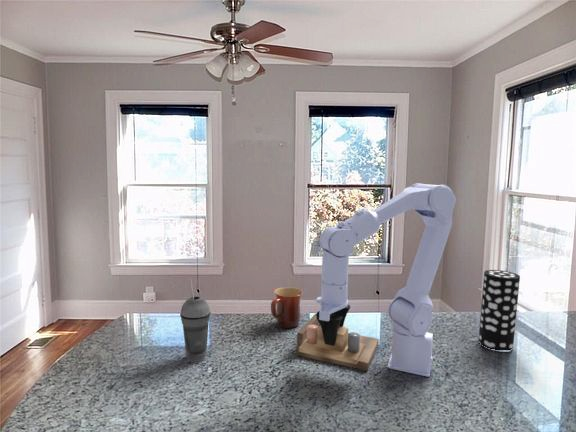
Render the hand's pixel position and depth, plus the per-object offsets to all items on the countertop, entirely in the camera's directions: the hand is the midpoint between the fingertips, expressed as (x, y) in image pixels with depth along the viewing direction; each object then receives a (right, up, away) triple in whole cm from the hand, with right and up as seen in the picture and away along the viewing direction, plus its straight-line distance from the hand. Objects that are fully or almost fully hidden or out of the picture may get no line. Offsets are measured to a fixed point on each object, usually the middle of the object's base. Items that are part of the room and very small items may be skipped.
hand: (332, 340), depth 86 cm
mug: (-11, -5, +28) cm, 31 cm away
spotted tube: (+46, -8, +18) cm, 50 cm away
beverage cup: (-33, -8, +9) cm, 35 cm away
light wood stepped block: (+3, -7, +14) cm, 16 cm away
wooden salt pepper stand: (0, -2, 0) cm, 2 cm away
